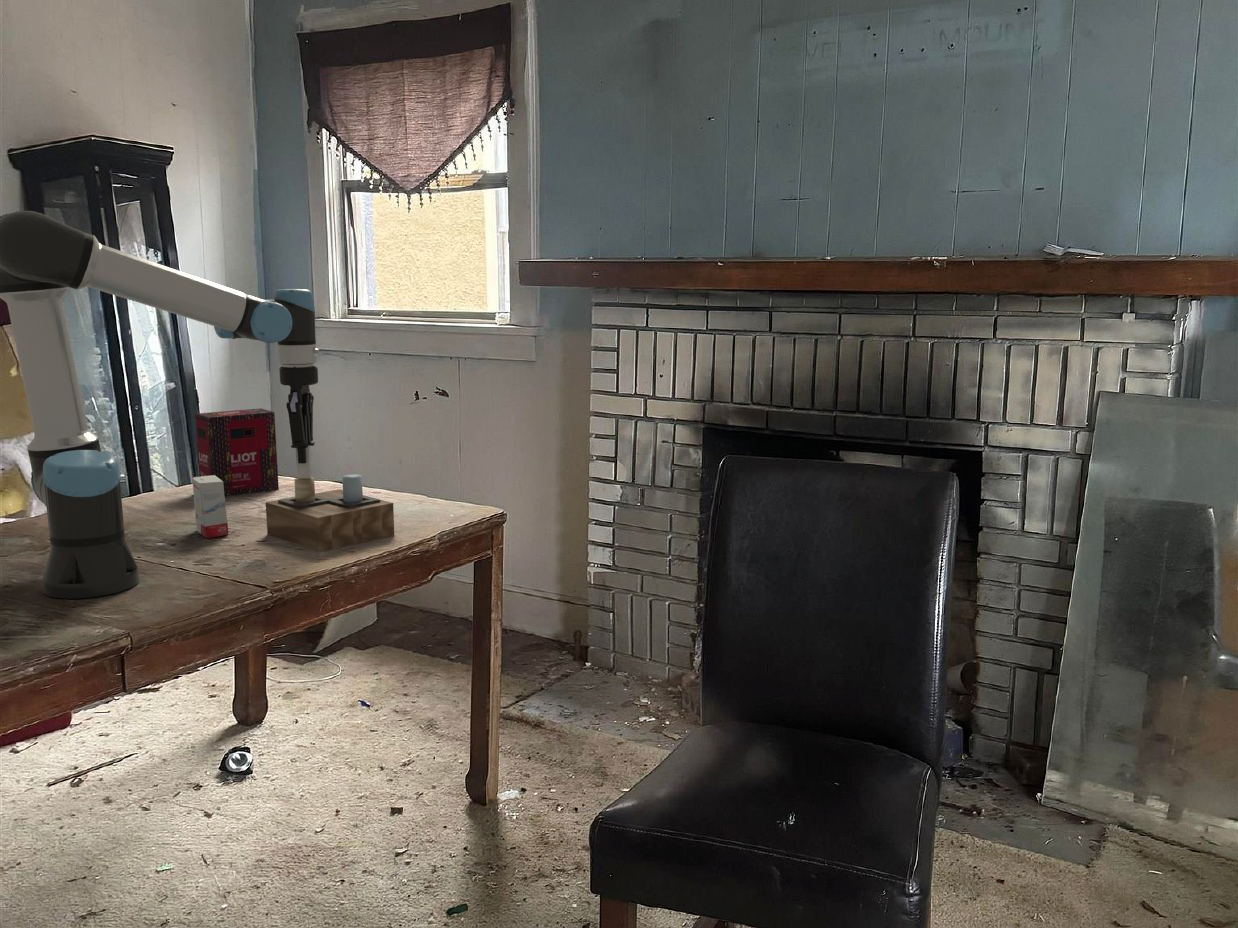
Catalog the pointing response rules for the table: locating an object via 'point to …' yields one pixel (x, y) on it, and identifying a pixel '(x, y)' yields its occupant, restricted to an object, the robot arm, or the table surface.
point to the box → (238, 449)
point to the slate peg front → (352, 488)
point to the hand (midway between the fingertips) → (304, 477)
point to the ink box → (210, 506)
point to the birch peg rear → (304, 490)
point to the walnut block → (329, 520)
